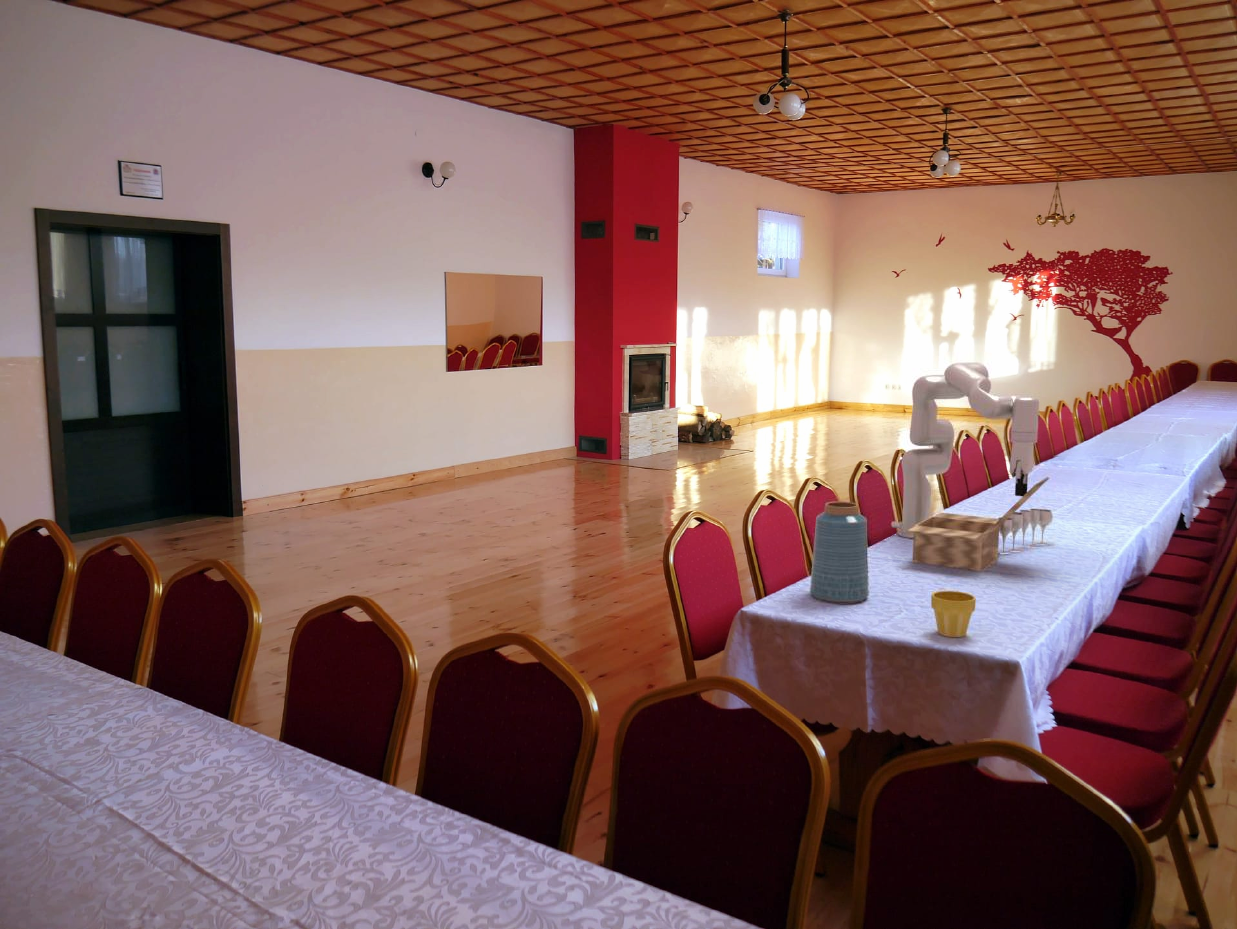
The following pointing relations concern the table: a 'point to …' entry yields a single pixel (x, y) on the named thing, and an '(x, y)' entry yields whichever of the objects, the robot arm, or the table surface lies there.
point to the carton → (956, 541)
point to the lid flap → (1017, 505)
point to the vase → (840, 555)
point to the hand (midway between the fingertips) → (1020, 495)
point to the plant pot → (952, 612)
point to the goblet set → (1025, 524)
